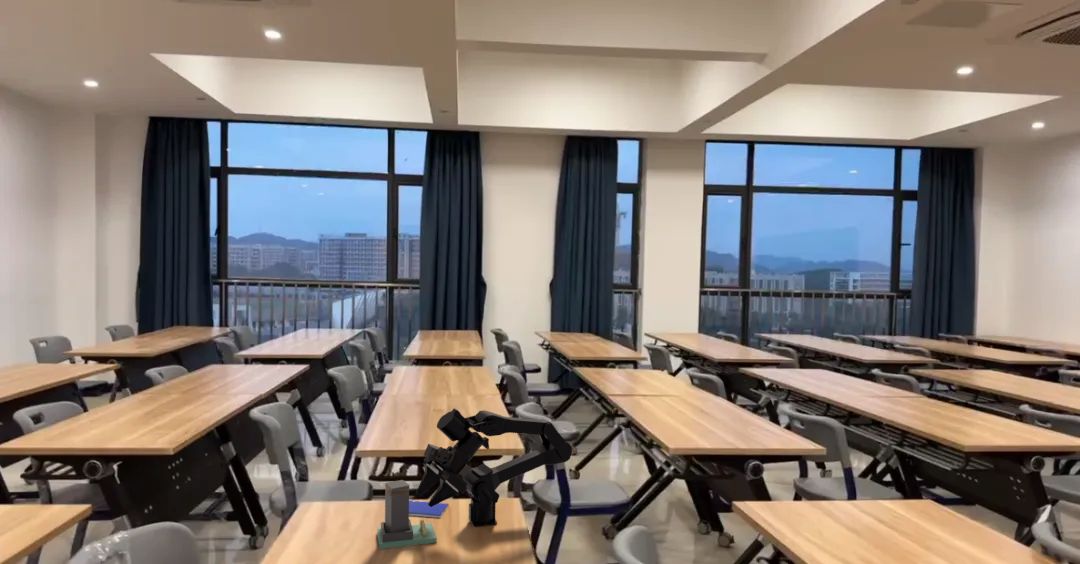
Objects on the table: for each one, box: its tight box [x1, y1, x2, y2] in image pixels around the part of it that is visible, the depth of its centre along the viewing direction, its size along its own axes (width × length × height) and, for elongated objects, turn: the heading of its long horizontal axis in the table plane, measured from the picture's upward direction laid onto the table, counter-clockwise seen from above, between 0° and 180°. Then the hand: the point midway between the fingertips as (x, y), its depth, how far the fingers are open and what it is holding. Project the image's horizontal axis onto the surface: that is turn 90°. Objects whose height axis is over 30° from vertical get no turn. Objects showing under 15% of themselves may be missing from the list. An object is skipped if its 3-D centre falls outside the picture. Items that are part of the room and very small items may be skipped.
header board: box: [376, 518, 438, 550], centre depth 163 cm, size 14×9×3 cm, turn 108°
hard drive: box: [409, 500, 450, 519], centre depth 180 cm, size 2×8×12 cm
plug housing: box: [384, 479, 410, 533], centre depth 162 cm, size 5×5×13 cm
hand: (423, 499), depth 165 cm, fingers open, 9 cm apart
